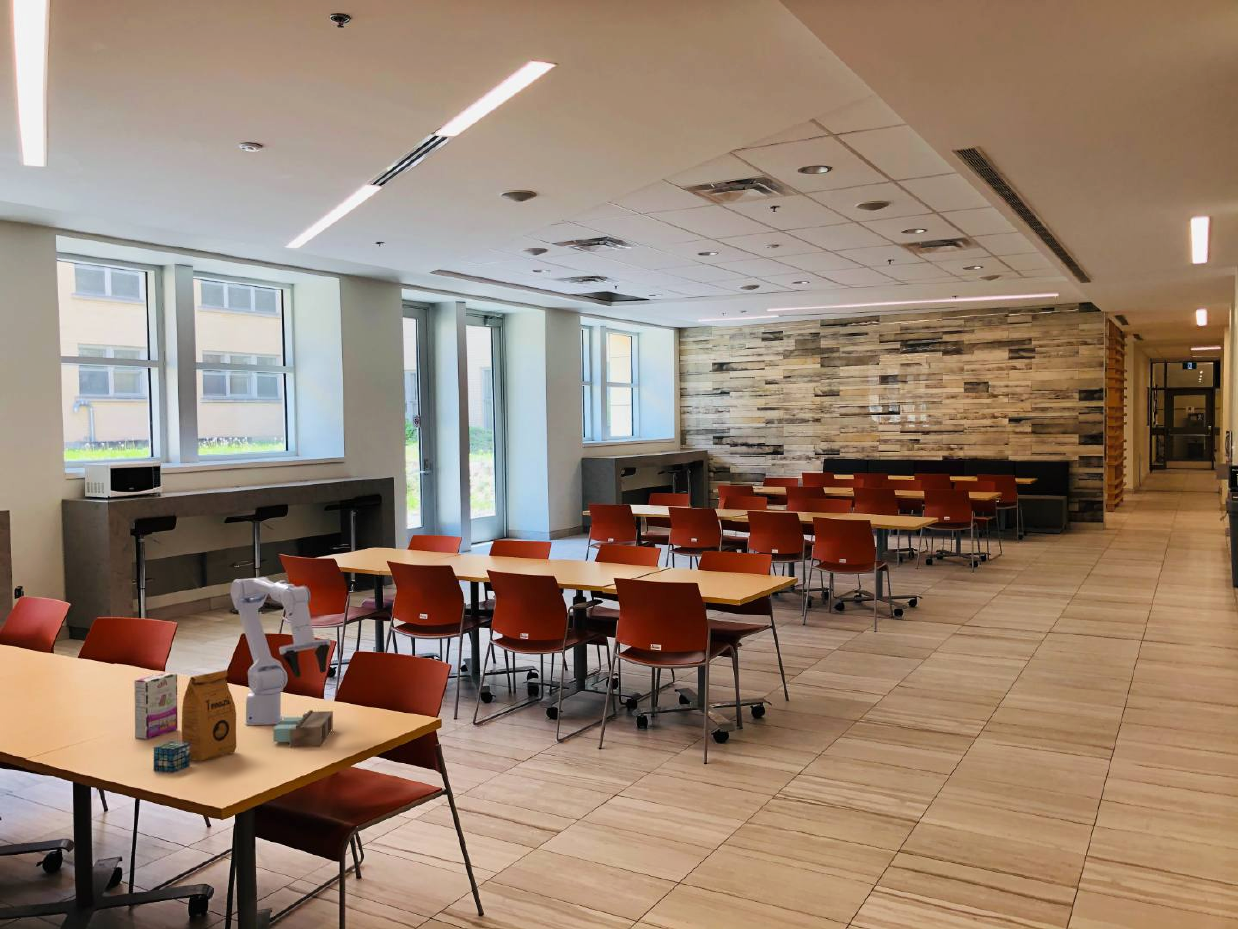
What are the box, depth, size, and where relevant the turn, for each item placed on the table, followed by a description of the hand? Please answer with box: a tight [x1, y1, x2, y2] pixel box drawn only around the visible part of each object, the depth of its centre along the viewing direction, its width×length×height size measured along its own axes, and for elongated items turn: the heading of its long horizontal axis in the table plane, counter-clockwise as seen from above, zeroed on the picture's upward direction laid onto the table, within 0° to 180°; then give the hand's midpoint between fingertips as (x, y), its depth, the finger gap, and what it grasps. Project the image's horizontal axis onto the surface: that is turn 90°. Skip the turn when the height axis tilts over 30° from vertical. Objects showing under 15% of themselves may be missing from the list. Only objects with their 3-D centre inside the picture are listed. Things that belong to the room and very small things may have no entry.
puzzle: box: [153, 740, 191, 774], centre depth 242 cm, size 6×6×6 cm
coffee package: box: [181, 669, 238, 761], centre depth 253 cm, size 10×12×22 cm
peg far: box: [280, 716, 303, 725], centre depth 273 cm, size 8×4×4 cm, turn 95°
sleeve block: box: [289, 709, 334, 748], centre depth 270 cm, size 8×17×6 cm, turn 5°
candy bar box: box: [134, 671, 178, 740], centre depth 274 cm, size 11×5×16 cm, turn 160°
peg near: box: [272, 724, 296, 743], centre depth 265 cm, size 8×4×4 cm, turn 95°
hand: (310, 674), depth 273 cm, fingers open, 7 cm apart
